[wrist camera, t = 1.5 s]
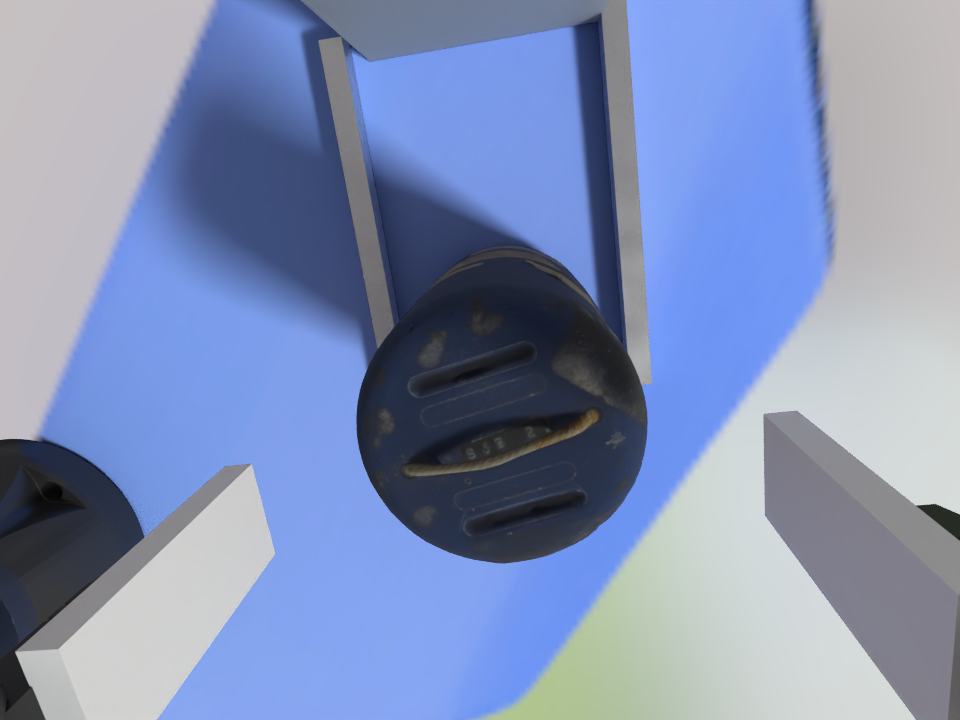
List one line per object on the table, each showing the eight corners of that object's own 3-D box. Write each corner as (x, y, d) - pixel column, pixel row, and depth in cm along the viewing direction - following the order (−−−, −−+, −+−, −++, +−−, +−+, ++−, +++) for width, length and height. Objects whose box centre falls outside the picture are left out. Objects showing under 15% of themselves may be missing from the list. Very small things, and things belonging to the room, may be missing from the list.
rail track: (394, 403, 36) (389, 412, 34) (328, 47, 31) (318, 40, 29) (646, 375, 34) (651, 383, 33) (620, -5, 29) (625, -16, 28)
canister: (420, 249, 33) (306, 305, 16) (588, 234, 32) (663, 277, 15) (438, 406, 36) (357, 604, 18) (594, 397, 35) (664, 595, 17)
